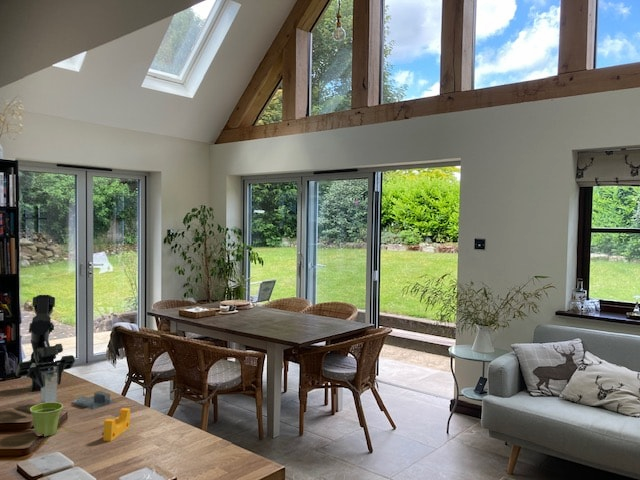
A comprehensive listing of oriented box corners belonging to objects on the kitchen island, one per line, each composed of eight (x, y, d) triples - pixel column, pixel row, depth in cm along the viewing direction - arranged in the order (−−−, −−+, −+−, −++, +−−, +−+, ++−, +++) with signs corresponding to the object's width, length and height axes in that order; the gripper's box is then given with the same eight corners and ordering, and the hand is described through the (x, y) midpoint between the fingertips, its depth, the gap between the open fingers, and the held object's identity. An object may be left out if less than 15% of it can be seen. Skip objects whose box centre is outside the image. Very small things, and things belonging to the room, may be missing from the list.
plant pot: (52, 440, 158) (53, 413, 158) (22, 438, 158) (23, 411, 158) (67, 428, 168) (68, 403, 168) (39, 427, 168) (40, 401, 168)
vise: (71, 405, 189) (71, 396, 189) (94, 398, 198) (94, 389, 198) (92, 412, 183) (93, 402, 183) (115, 404, 192) (115, 395, 192)
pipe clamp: (117, 426, 172) (118, 407, 172) (129, 427, 172) (130, 408, 172) (98, 440, 161) (99, 420, 160) (110, 441, 160) (111, 421, 160)
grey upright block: (40, 407, 182) (41, 372, 181) (52, 404, 185) (52, 370, 184) (47, 413, 177) (48, 377, 176) (59, 410, 180) (60, 375, 179)
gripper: (19, 339, 178) (28, 378, 170) (74, 333, 191) (84, 369, 184) (11, 357, 183) (19, 395, 176) (65, 350, 197) (75, 385, 189)
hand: (51, 385), depth 181 cm, fingers open, 5 cm apart
